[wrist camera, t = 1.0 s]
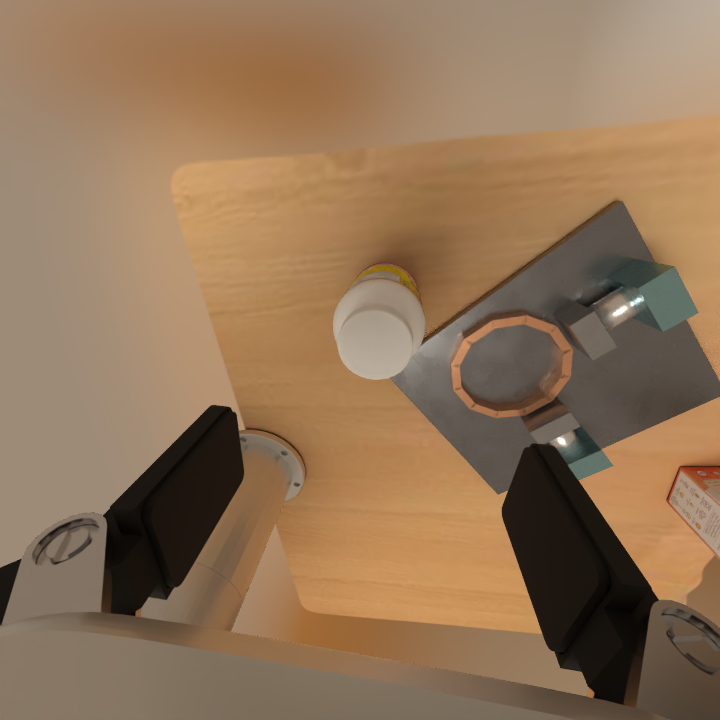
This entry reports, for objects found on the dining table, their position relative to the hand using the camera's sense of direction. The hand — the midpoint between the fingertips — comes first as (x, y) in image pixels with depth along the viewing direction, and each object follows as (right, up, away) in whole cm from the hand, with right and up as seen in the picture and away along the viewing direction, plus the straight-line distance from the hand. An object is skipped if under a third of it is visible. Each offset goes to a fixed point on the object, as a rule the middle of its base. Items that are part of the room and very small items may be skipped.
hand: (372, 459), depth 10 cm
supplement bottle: (+2, +10, +20) cm, 23 cm away
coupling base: (+18, +1, +22) cm, 29 cm away
